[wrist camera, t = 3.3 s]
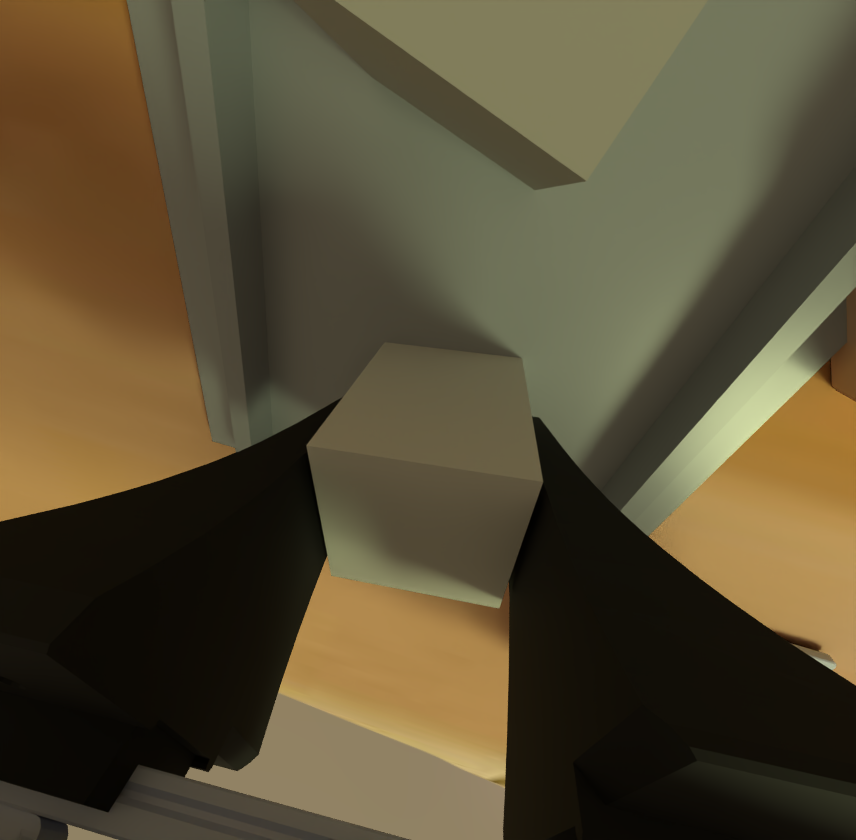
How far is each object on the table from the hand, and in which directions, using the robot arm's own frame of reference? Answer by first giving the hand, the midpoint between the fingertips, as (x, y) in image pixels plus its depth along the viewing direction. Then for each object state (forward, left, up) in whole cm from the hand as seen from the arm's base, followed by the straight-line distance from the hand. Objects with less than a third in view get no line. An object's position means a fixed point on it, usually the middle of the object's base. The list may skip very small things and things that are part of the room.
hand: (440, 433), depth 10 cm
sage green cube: (0, 0, -1) cm, 1 cm away
